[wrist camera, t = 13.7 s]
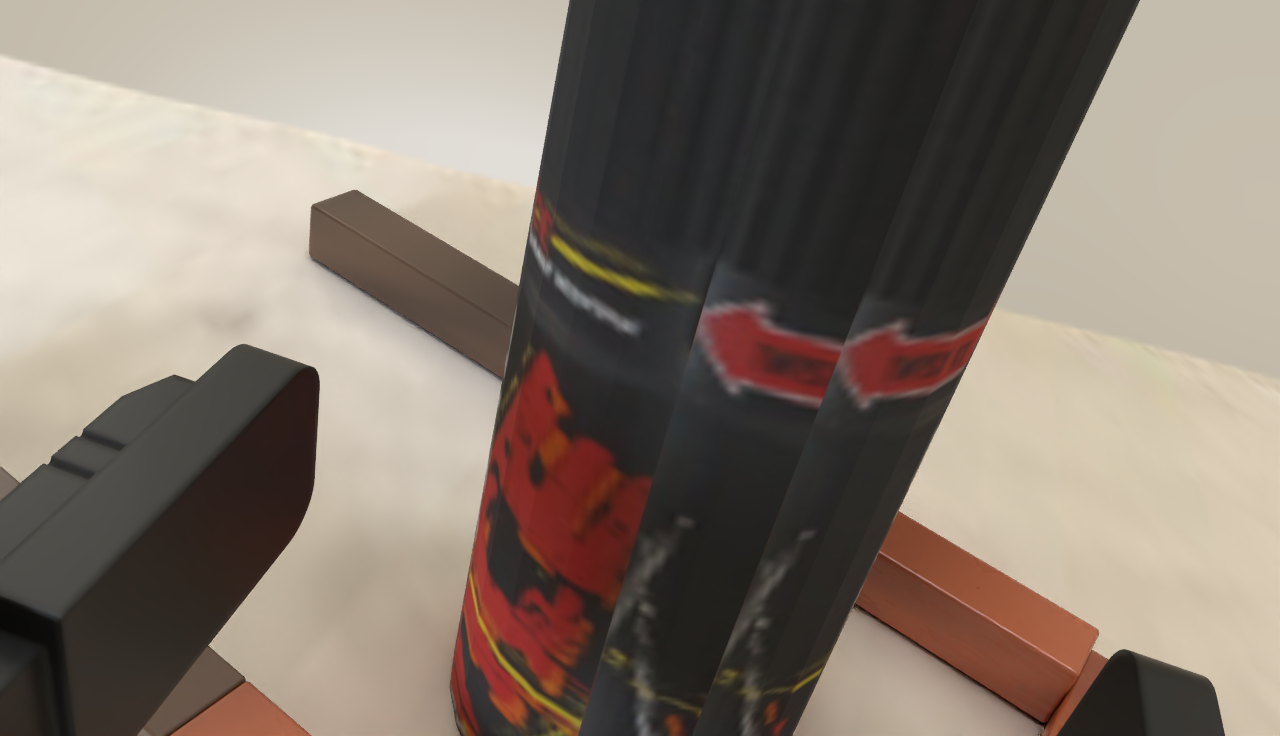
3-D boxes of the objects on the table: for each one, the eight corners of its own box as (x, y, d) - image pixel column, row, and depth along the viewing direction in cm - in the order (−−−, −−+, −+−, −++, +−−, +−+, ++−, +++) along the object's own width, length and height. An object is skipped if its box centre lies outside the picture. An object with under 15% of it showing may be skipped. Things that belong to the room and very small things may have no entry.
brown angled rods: (-200, 455, 20) (-219, 389, 19) (351, 238, 30) (355, 187, 29) (850, 1469, 12) (897, 1434, 11) (1141, 725, 22) (1179, 675, 21)
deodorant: (827, 840, 18) (1367, -139, 10) (455, 853, 17) (696, -295, 8) (742, 566, 23) (1055, -260, 14) (446, 557, 21) (592, -372, 13)
